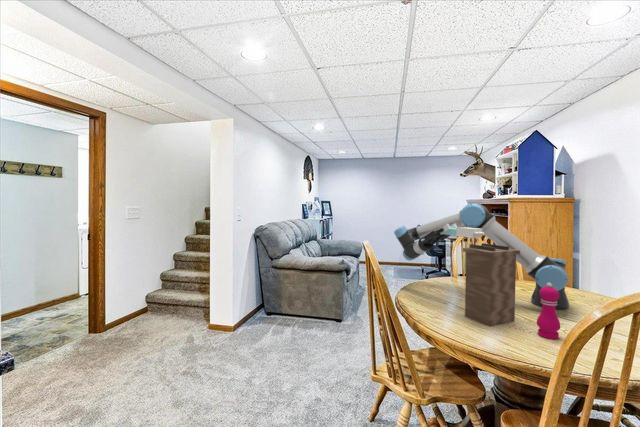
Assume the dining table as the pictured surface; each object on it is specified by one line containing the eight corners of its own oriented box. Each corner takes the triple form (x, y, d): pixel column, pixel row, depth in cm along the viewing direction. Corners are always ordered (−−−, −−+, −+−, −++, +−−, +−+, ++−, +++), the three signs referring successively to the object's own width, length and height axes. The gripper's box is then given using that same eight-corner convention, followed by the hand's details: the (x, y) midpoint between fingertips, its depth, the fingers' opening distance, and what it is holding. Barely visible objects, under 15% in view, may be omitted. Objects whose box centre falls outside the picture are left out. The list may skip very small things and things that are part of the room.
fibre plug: (446, 233, 161) (446, 225, 161) (485, 237, 140) (486, 228, 140) (437, 233, 159) (437, 225, 159) (476, 238, 138) (476, 229, 138)
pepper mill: (534, 336, 118) (536, 282, 118) (538, 330, 124) (539, 279, 123) (558, 341, 113) (560, 286, 113) (561, 335, 119) (562, 282, 118)
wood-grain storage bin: (489, 311, 146) (490, 243, 145) (518, 321, 133) (520, 246, 132) (461, 316, 139) (462, 244, 138) (489, 327, 126) (491, 248, 125)
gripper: (438, 250, 175) (468, 232, 156) (413, 252, 168) (441, 233, 149) (433, 238, 178) (462, 219, 159) (408, 239, 171) (436, 219, 152)
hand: (452, 226), depth 154 cm, fingers closed on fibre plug, 4 cm apart
